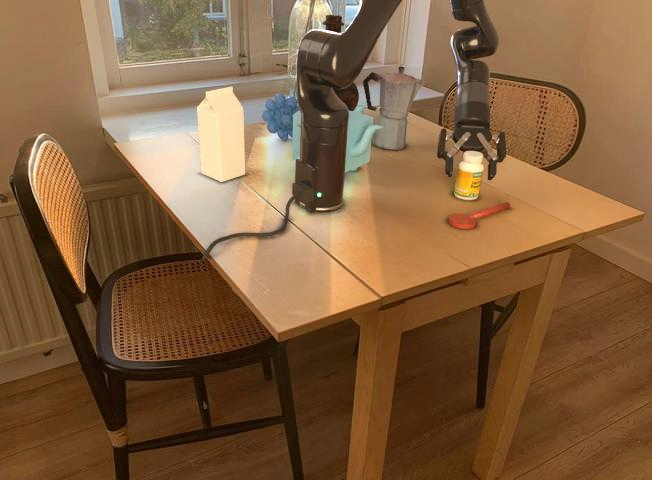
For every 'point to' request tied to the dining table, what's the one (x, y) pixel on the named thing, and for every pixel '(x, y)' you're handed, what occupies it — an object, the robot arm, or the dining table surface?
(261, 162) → the dining table surface
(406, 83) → the moka pot
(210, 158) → the milk carton
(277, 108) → the grapes
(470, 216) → the red spoon
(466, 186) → the supplement bottle
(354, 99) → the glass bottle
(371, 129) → the teakettle
